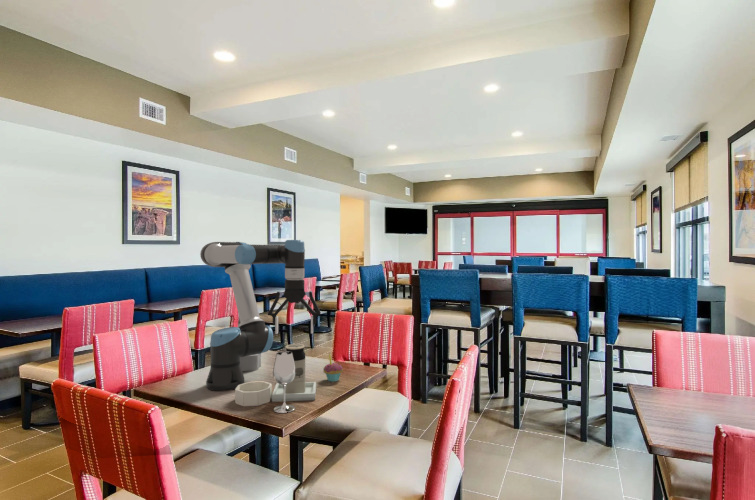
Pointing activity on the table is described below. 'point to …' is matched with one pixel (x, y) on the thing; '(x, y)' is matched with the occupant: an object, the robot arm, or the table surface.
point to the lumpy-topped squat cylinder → (250, 362)
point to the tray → (307, 395)
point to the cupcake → (333, 370)
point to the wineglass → (284, 376)
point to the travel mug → (297, 369)
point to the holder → (253, 393)
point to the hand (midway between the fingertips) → (294, 333)
